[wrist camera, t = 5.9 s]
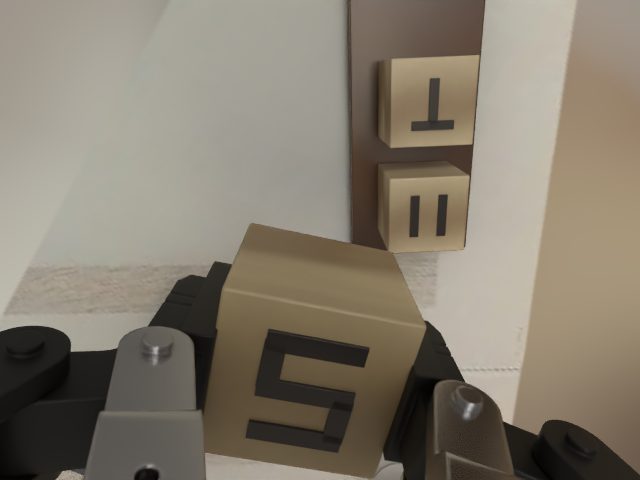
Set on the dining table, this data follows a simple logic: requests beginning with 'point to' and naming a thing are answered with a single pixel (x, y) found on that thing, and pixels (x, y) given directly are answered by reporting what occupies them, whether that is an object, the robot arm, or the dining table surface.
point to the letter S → (310, 353)
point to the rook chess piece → (388, 470)
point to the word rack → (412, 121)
